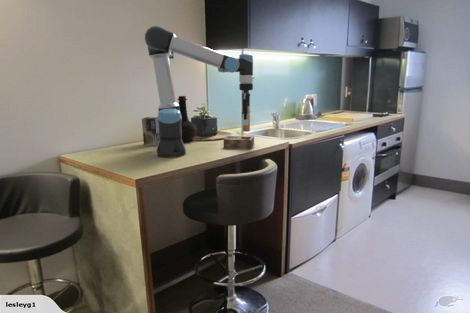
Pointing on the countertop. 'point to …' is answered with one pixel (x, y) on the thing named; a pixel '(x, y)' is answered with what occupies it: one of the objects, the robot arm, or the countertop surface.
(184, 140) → the glass bottle
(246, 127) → the peg
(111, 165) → the countertop surface
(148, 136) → the coffee box
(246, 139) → the socket block
